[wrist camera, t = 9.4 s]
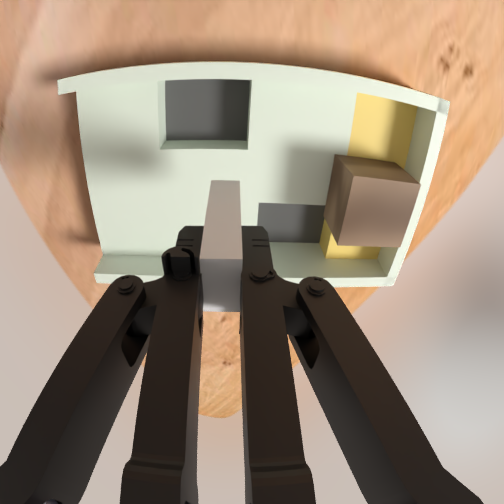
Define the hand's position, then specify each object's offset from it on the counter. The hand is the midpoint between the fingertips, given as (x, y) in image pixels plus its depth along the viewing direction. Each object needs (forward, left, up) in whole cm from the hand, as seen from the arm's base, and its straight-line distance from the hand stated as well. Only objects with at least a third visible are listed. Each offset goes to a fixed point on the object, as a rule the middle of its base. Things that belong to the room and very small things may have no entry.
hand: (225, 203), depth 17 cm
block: (+1, +10, -5) cm, 11 cm away
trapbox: (+1, +2, -8) cm, 8 cm away
